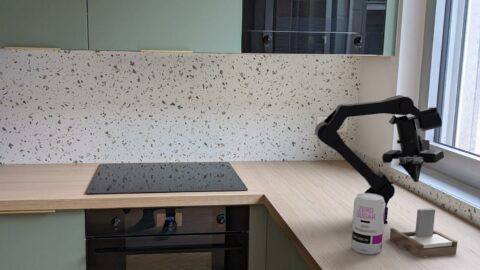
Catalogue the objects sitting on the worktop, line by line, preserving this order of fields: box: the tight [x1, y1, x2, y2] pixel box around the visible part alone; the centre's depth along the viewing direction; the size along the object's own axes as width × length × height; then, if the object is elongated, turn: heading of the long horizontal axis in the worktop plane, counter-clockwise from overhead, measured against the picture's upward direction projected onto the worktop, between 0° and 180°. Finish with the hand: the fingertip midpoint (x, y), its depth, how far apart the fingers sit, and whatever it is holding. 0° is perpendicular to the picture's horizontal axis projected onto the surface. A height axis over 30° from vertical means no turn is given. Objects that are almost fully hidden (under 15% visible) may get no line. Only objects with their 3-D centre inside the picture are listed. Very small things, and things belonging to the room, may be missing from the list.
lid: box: [409, 207, 452, 248], centre depth 145 cm, size 6×9×9 cm
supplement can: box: [350, 192, 385, 256], centre depth 144 cm, size 8×8×15 cm
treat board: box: [389, 227, 458, 259], centre depth 149 cm, size 14×12×4 cm
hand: (416, 181), depth 169 cm, fingers closed
